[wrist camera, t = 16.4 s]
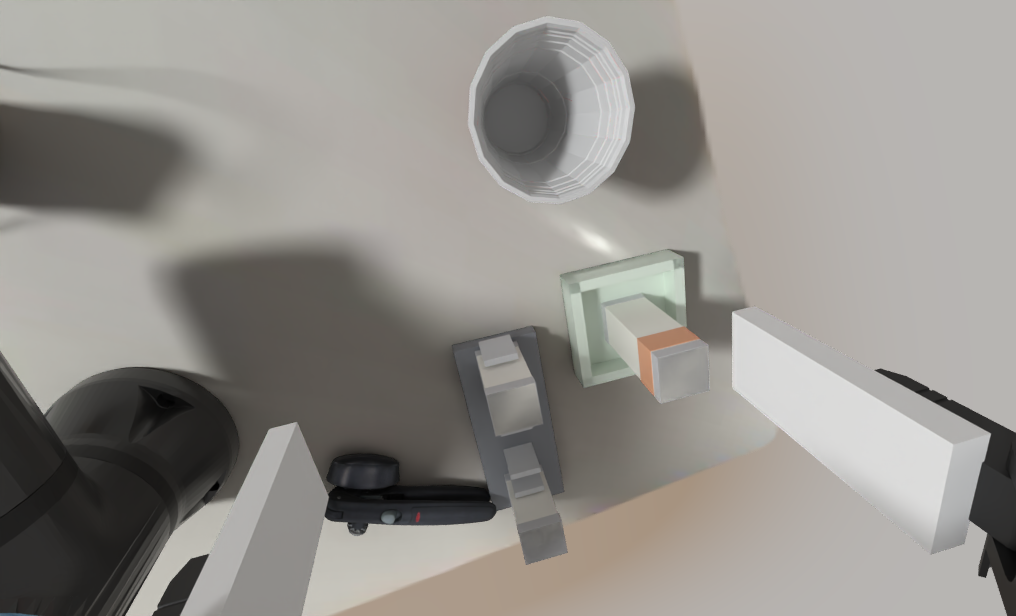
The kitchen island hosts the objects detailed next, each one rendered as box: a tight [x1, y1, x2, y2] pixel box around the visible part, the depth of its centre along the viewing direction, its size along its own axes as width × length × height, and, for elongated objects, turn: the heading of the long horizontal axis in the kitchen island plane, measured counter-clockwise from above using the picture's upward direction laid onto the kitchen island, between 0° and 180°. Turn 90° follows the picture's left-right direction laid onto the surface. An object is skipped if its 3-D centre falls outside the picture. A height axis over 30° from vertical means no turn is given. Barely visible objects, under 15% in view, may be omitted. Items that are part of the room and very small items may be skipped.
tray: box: [560, 249, 687, 388], centre depth 48 cm, size 11×11×3 cm
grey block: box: [504, 465, 567, 565], centre depth 49 cm, size 4×4×8 cm
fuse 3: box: [601, 293, 710, 404], centre depth 43 cm, size 4×4×12 cm
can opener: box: [325, 454, 496, 536], centre depth 50 cm, size 18×7×6 cm, turn 71°
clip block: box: [452, 326, 564, 511], centre depth 49 cm, size 8×21×6 cm, turn 11°
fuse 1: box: [475, 341, 543, 436], centre depth 43 cm, size 4×4×8 cm
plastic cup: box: [468, 16, 635, 204], centre depth 35 cm, size 11×11×12 cm
